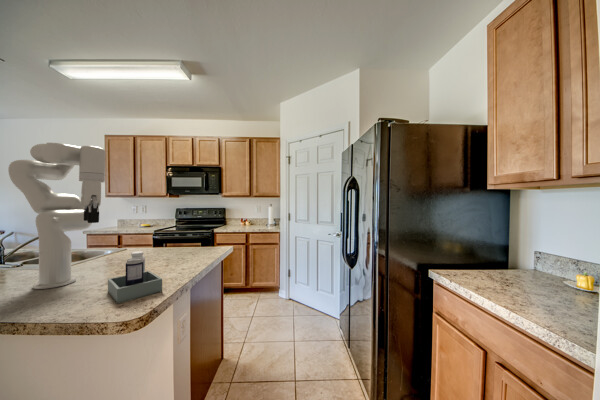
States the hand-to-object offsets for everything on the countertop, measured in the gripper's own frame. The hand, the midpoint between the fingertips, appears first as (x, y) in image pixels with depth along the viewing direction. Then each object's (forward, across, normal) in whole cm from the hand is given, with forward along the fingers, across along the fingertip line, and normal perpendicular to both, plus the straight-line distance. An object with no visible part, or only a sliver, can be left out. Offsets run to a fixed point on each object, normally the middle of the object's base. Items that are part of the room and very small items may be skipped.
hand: (91, 221), depth 90 cm
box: (+27, +14, +12) cm, 33 cm away
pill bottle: (+28, -7, +18) cm, 34 cm away
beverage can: (+26, +14, +11) cm, 32 cm away
